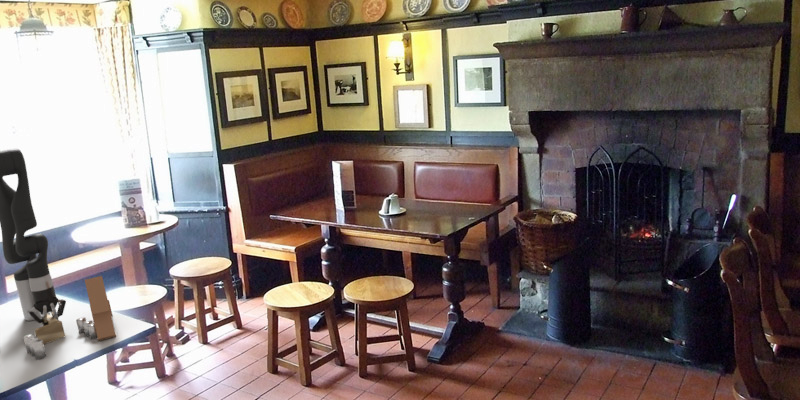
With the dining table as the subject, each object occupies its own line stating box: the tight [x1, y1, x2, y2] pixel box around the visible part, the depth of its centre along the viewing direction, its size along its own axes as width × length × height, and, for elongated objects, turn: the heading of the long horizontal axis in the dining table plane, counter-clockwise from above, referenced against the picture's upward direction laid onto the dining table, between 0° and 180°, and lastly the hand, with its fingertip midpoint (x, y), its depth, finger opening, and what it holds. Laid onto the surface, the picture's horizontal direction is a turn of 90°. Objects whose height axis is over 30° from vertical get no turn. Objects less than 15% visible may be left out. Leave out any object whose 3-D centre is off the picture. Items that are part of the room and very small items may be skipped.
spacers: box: [23, 316, 98, 361], centre depth 236 cm, size 14×22×6 cm, turn 137°
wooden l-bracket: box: [33, 314, 66, 345], centre depth 245 cm, size 14×9×6 cm, turn 47°
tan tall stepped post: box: [84, 275, 117, 342], centre depth 247 cm, size 7×23×25 cm
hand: (52, 329), depth 248 cm, fingers closed on wooden l-bracket, 2 cm apart
